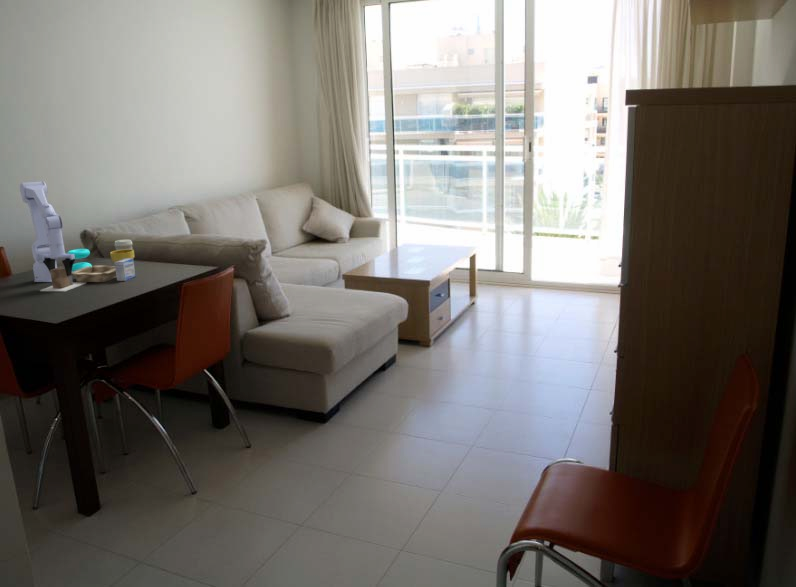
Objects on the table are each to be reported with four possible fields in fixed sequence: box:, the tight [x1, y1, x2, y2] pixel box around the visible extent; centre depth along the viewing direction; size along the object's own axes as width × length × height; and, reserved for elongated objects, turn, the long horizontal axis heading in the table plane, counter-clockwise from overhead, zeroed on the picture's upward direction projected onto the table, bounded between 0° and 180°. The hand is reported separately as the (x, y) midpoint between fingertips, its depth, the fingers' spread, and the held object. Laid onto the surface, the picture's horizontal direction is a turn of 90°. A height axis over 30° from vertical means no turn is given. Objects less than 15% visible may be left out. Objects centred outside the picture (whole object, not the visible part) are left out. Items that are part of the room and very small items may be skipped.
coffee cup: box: [114, 238, 133, 251], centre depth 335 cm, size 8×8×12 cm
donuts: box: [66, 248, 93, 272], centre depth 325 cm, size 10×10×10 cm
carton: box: [71, 264, 117, 283], centre depth 308 cm, size 19×17×4 cm
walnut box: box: [50, 265, 74, 289], centre depth 293 cm, size 4×7×8 cm, turn 168°
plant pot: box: [109, 248, 135, 265], centre depth 319 cm, size 10×10×10 cm
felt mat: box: [39, 281, 87, 293], centre depth 294 cm, size 12×14×1 cm
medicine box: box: [114, 258, 136, 282], centre depth 304 cm, size 8×4×9 cm, turn 168°
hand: (61, 275), depth 293 cm, fingers open, 7 cm apart
